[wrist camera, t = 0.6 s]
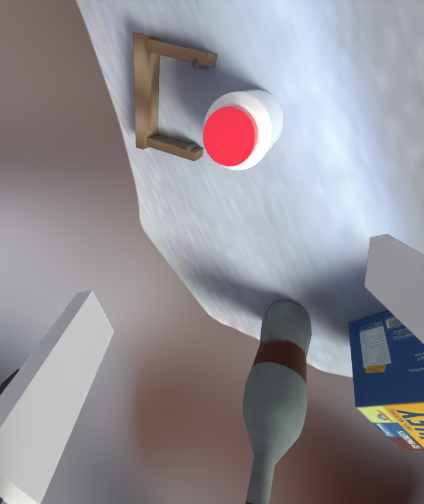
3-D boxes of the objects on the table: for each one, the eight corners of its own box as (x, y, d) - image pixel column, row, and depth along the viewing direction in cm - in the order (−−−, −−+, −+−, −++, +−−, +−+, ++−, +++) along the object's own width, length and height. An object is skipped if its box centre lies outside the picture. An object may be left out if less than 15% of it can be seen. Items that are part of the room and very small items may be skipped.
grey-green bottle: (263, 295, 49) (206, 485, 26) (312, 300, 45) (296, 527, 22) (268, 327, 53) (223, 512, 30) (312, 334, 49) (300, 551, 27)
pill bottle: (218, 105, 33) (180, 114, 24) (273, 76, 29) (252, 75, 21) (237, 161, 36) (209, 185, 28) (289, 142, 32) (276, 164, 24)
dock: (152, 37, 31) (133, 32, 28) (217, 51, 30) (204, 48, 27) (150, 142, 39) (135, 147, 36) (202, 158, 38) (191, 165, 35)
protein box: (486, 335, 37) (562, 456, 25) (380, 357, 46) (399, 452, 35) (447, 289, 35) (507, 396, 23) (346, 322, 45) (353, 408, 33)
